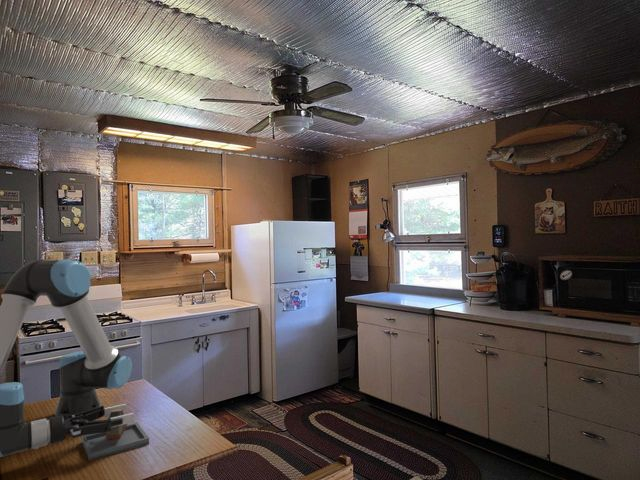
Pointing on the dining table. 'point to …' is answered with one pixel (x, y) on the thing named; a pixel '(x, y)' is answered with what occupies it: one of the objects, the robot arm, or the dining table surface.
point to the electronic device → (115, 431)
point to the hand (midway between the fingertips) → (129, 412)
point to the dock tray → (114, 442)
